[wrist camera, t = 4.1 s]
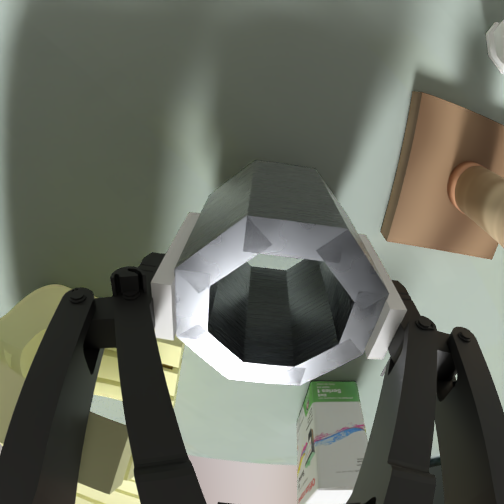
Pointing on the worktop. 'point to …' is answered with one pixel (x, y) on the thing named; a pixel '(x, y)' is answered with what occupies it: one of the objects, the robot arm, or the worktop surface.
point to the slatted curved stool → (107, 384)
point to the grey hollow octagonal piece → (276, 279)
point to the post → (448, 181)
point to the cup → (496, 44)
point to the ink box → (329, 443)
